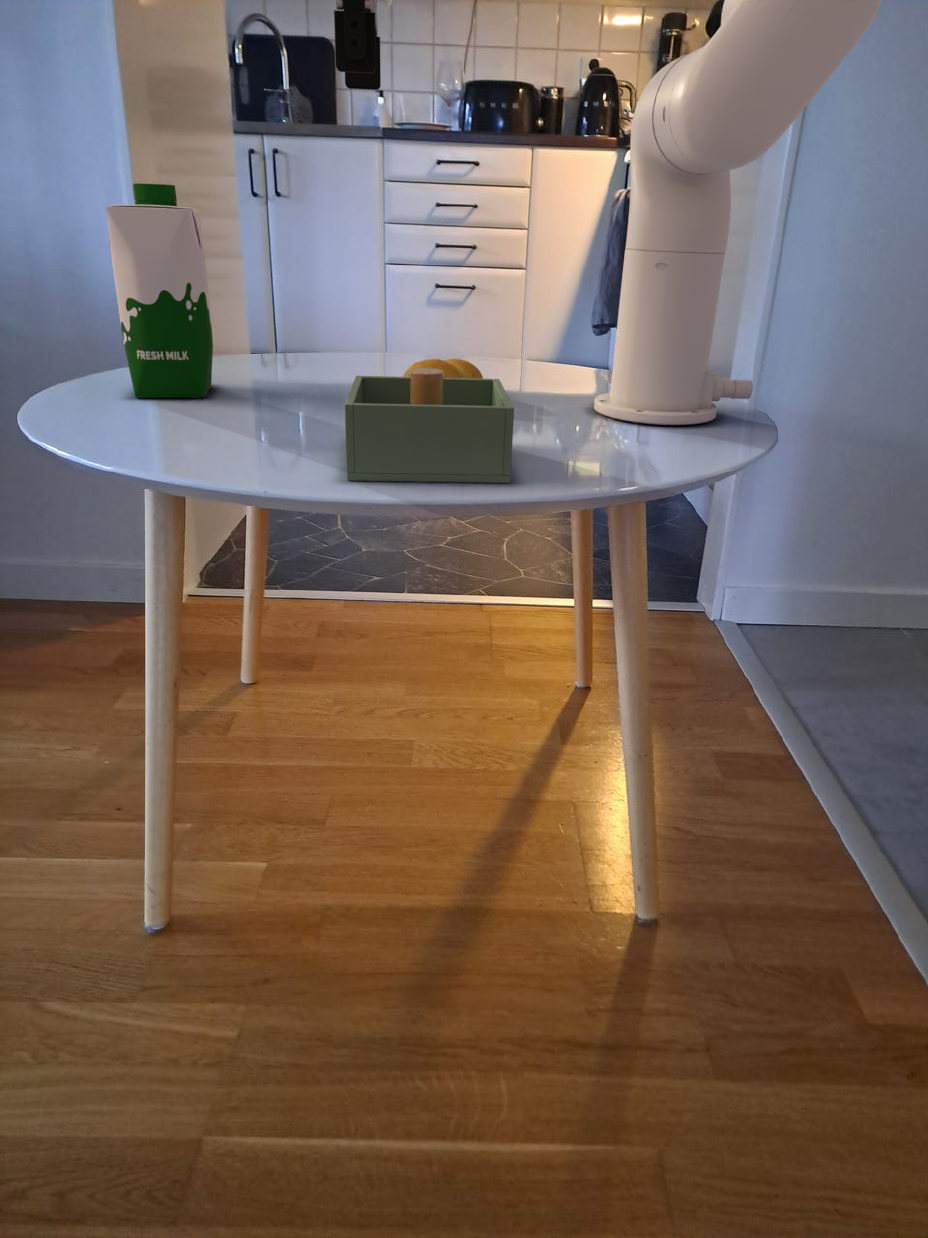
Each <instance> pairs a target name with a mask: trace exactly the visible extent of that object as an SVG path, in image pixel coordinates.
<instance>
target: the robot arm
mask: <svg viewBox="0 0 928 1238" xmlns="http://www.w3.org/2000/svg"><path fill="white" fill-rule="evenodd" d="M882 1H883V0H724V1H723V5H722V9H721V16H720V17H721V18H720V26H719V28H718V29H717V31H715V33H714V34H713V35H712V37H711V38H710V39H709V40H708V42H706V44H704V46H702V47H700V48H698V49H694V50H693V51H690V52H688V53H686V54H684V55H682V56H679V57H677V58H676V59H674V60H672V61H670V62H669V63H667V64H666V65H664V66H663V67H662V68H660V69H659V70H658V71H657V72H656V73H655V74H654V76H652V78H650V80H649V81H648V83H647V84H646V85H645V87H644V89H643V90H642V92H641V94H640V96H639V98H638V100H637V103H636V105H635V109H634V112H633V117H632V123H631V128H630V129H631V130H630V144H629V145H630V147H629V149H630V151H629V153H630V156H629V158H630V161H629V162H630V163H629V164H630V191H629V207H628V208H629V210H628V219H627V221H628V222H627V230H626V241H625V248H624V257H623V267H622V278H621V285H620V296H619V304H618V312H617V313H618V315H617V322H616V323H617V324H616V334H615V342H614V344H615V345H614V352H613V353H614V354H613V362H612V370H611V371H612V372H611V382H610V391H609V392H605V393H602V394H599V395H597V396H596V397H595V398H594V402H593V409H594V410H595V412H597V413H599V414H601V415H603V416H606V417H609V418H611V419H615V420H621V421H626V422H632V423H638V424H639V423H640V424H648V425H660V426H661V425H663V426H686V425H699V424H704V423H709V422H711V421H714V419H716V418H717V413H718V406H717V404H715V403H713V402H719V401H720V400H722V399H723V398H726V399H732V400H749V399H750V398H751V396H752V394H753V388H754V387H753V385H754V384H753V381H752V380H751V379H732V378H731V377H728V378H727V377H722V376H720V375H719V376H717V373H715V372H713V371H712V370H710V369H708V368H709V362H710V354H711V348H712V342H713V335H714V330H715V329H714V328H715V322H716V315H717V308H718V303H719V295H720V288H721V282H722V275H723V270H724V263H725V258H726V257H725V255H726V253H727V247H728V241H729V233H730V224H731V213H732V211H731V210H732V208H731V207H732V194H731V193H732V192H731V191H732V189H731V171H732V170H736V169H739V168H742V167H744V166H746V165H749V164H750V163H752V162H754V161H755V160H757V159H758V158H760V157H761V156H762V155H764V154H765V153H766V152H767V151H768V150H769V149H771V148H772V146H773V145H775V144H776V142H777V141H778V140H779V139H780V138H781V137H782V136H783V135H784V134H785V132H786V131H787V130H788V129H789V128H790V127H791V125H792V124H793V123H794V122H795V121H796V120H797V118H798V117H799V115H800V114H801V113H802V112H803V111H804V109H805V108H806V107H807V106H808V105H809V103H810V102H811V101H812V100H813V98H814V97H815V96H816V95H817V93H818V92H819V91H820V89H821V88H822V87H823V86H824V85H825V83H826V82H828V80H829V79H830V77H831V76H832V75H833V74H834V73H835V71H836V70H837V69H838V67H839V66H840V65H841V64H842V62H843V61H844V60H845V58H846V57H847V56H848V55H849V54H850V53H851V52H852V50H853V49H854V47H855V46H856V44H857V43H858V42H859V41H860V40H861V38H862V37H863V35H864V34H865V33H866V31H867V30H868V28H869V27H870V26H871V23H872V21H873V20H874V18H875V17H876V14H877V12H878V10H879V8H880V6H881V5H882ZM378 2H380V3H384V7H385V9H388V8H390V7H391V6H392V4H393V0H335V5H336V10H333V18H334V19H333V20H334V21H333V22H334V53H335V54H334V55H335V56H334V57H335V68H336V70H337V71H338V72H339V73H344V84H345V85H344V86H345V87H346V88H347V89H349V90H366V91H378V90H380V89H381V87H382V83H381V82H382V81H381V80H382V79H381V77H382V76H381V36H378V35H379V29H378V28H379V27H378Z"/></svg>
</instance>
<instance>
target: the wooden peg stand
mask: <svg viewBox="0 0 928 1238" xmlns="http://www.w3.org/2000/svg"><path fill="white" fill-rule="evenodd" d="M443 385H444V372H443V371H442V370H438V369H429V368H421V369H413V370H411V371H410V404H421V405H443Z"/></svg>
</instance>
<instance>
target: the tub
mask: <svg viewBox="0 0 928 1238" xmlns="http://www.w3.org/2000/svg"><path fill="white" fill-rule="evenodd" d="M344 419H345V420H344V426H345V427H344V428H345V455H346V456H345V459H346V460H345V461H346V480H347V481H350V482H351V481H354V482H355V481H356V482H358V481H360V482H361V481H362V482H421V483H423V482H424V483H427V482H428V483H484V484H485V483H486V484H488V483H489V484H491V483H492V484H493V483H494V484H511V475H512V459H513V458H512V457H513V456H512V455H513V438H514V436H513V435H514V421H515V407H514V405H513V403H512V401H511V399H510V397H509V395H508V393H507V391H506V389H505V388H504V386H503V384H502V382H501V380H500V378H483V379H478V378H444V385H443V405H421V404H410V377H403V376H388V375H387V376H386V375H385V376H384V375H355V377H354V380H353V383H352V385H351V388H350V390H349V393H348V395H347V398H346V401H345V403H344Z"/></svg>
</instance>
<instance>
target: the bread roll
mask: <svg viewBox="0 0 928 1238" xmlns="http://www.w3.org/2000/svg"><path fill="white" fill-rule="evenodd" d="M421 368H429V369H438V370H442V371H443V372H444V378H478V379H484V376H483V374H482V372H481V370H480V369H479V368H478V367H477V366H475V365H474V364H473V363H471V362H470V361H467V360H464V359H461V358H449V359H448V358H447V359H445V360H443V359H439V358H432V359H424V360H420V361H417V362H414V363H412V364H411V365H410V366H409V367H408V368H407V369H406V370H405V372H404V374H403V376H402V377H410V371H411V370H413V369H421Z"/></svg>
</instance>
